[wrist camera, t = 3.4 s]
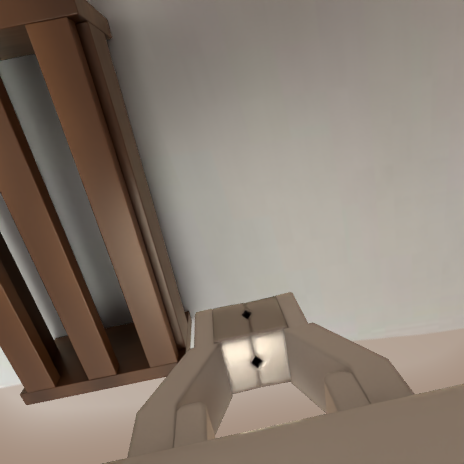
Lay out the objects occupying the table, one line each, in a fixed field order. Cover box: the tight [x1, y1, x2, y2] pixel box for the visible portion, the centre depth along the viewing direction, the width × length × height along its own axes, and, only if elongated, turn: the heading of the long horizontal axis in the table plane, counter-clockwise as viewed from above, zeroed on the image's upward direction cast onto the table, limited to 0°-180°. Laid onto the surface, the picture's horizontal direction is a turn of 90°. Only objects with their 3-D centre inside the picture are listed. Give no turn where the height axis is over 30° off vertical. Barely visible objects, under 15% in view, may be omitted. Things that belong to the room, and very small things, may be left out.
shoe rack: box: [0, 0, 192, 405], centre depth 23 cm, size 13×25×6 cm, turn 10°
